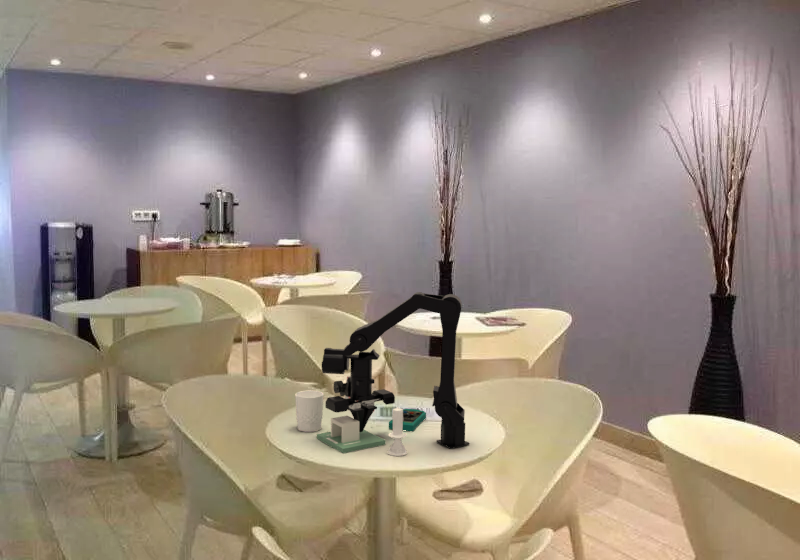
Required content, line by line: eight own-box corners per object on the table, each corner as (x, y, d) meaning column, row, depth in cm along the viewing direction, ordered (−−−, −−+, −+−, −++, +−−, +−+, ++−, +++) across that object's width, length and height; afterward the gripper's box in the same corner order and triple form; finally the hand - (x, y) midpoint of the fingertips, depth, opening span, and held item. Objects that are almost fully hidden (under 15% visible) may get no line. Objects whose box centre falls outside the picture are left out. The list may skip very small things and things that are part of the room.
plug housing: (359, 439, 197) (359, 421, 196) (342, 443, 194) (343, 424, 193) (347, 433, 202) (347, 415, 202) (330, 436, 199) (331, 418, 199)
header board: (385, 444, 197) (385, 439, 197) (342, 453, 190) (342, 448, 190) (357, 430, 209) (358, 426, 208) (316, 438, 201) (316, 433, 201)
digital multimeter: (426, 419, 222) (427, 409, 222) (412, 433, 208) (412, 423, 208) (403, 416, 225) (403, 407, 224) (387, 430, 210) (388, 420, 210)
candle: (386, 449, 193) (386, 404, 192) (406, 449, 194) (407, 404, 192) (387, 456, 188) (388, 409, 187) (408, 456, 188) (409, 409, 187)
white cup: (329, 427, 211) (329, 392, 210) (312, 434, 205) (312, 399, 204) (306, 422, 215) (306, 389, 214) (289, 429, 209) (289, 394, 208)
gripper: (374, 365, 211) (373, 419, 213) (315, 372, 200) (315, 429, 202) (396, 373, 202) (395, 429, 203) (336, 381, 191) (335, 440, 193)
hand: (360, 431), depth 201 cm, fingers closed
